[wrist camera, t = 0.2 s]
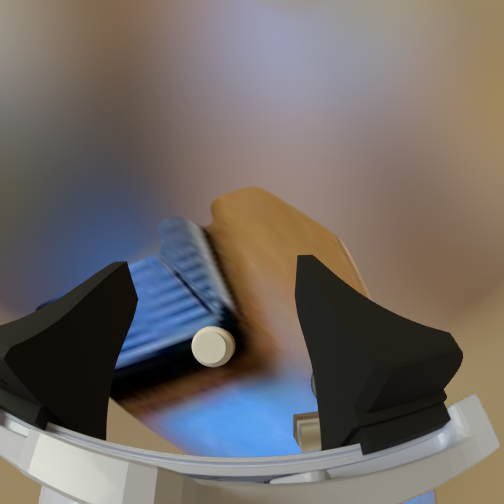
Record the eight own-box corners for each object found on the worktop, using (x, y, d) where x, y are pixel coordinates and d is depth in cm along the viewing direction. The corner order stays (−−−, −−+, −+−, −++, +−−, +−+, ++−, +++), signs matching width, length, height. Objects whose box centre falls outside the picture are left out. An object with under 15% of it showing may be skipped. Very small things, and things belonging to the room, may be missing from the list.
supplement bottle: (230, 324, 40) (226, 320, 31) (239, 358, 39) (237, 364, 30) (196, 332, 40) (182, 330, 31) (205, 365, 38) (193, 373, 29)
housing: (318, 432, 35) (330, 447, 28) (293, 436, 35) (302, 452, 28) (317, 411, 36) (330, 423, 30) (293, 414, 36) (301, 428, 29)
